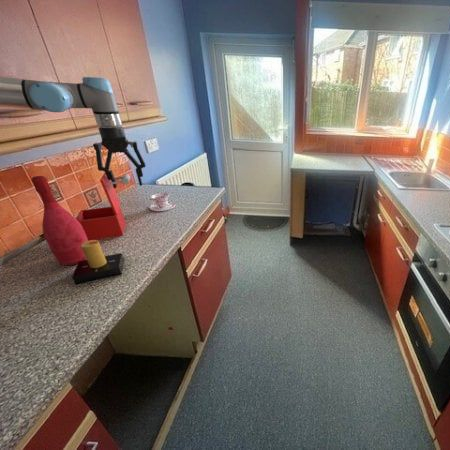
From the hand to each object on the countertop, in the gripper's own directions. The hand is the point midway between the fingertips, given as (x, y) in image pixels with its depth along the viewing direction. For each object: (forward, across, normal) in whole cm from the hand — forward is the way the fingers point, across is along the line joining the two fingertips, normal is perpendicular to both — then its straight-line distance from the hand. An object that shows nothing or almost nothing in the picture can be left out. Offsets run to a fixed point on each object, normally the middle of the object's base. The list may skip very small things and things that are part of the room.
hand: (128, 185), depth 101 cm
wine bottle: (+19, -19, -18) cm, 32 cm away
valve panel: (+19, -10, -30) cm, 37 cm away
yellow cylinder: (+16, -10, -30) cm, 35 cm away
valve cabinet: (+19, -13, 0) cm, 23 cm away
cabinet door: (+2, -7, 0) cm, 7 cm away
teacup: (+19, +9, +19) cm, 28 cm away
